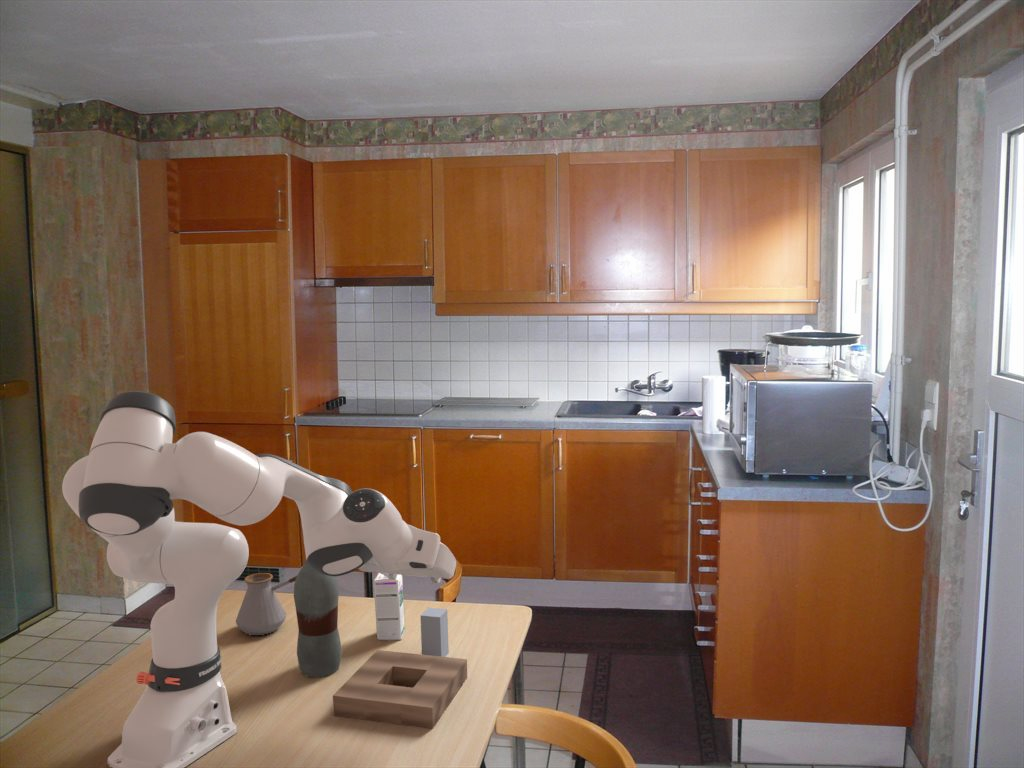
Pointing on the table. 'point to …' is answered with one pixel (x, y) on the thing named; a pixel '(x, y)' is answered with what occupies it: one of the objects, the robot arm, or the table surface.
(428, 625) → the peg
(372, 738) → the table surface
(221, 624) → the table surface
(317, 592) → the bottle
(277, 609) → the coffee pot
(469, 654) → the table surface
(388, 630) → the syrup box
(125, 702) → the table surface
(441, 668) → the socket block
